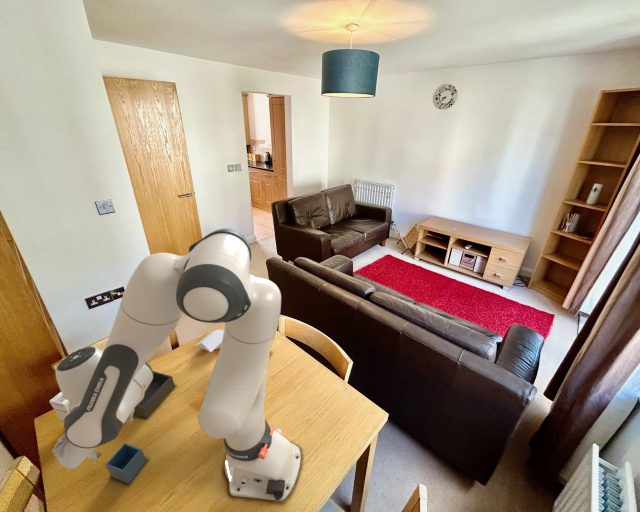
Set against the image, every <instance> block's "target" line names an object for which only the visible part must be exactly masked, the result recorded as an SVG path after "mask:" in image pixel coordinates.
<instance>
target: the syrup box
mask: <svg viewBox="0 0 640 512" xmlns="http://www.w3.org/2000/svg"><path fill="white" fill-rule="evenodd" d="M49 404H50V406H51V407H52V408H53V410H54V412H55V413H56V415H57V416H58V418H59V420H60V421H61V423H62V424H63V425H64V419H65V417H66V416H67V415H68V414H69V413H70V412H71V409H70V402H69V401H68V400H66V399H65V398H64V396H63V394H62V392H61V391H59V392H58V393H57V394H56V395H55V396H54V397H52V398H51V399H50V400H49Z"/></svg>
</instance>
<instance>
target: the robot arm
mask: <svg viewBox="0 0 640 512" xmlns="http://www.w3.org/2000/svg"><path fill="white" fill-rule="evenodd" d="M251 260H252V250H251V246H250V243H249V241H248V240H247V238H246V236H244V235H243V234H242V233H241V232H239V231H237V230H235V229H231V228H220V229H216V230H214V231H212V232H210V233H208V234H207V235H205V236H203V237H202V238H201V239H199V240H198V241H196V242H194V243H193V244H191V245H190V246H189V248H188V253H187V254H185V255H178V254H174V253H170V252H155V253H152V254H149V255H148V256H146V257H144V258H143V259H142V260H141V261H140V263H139V264H138V265H137V266H136V268H135V270H134V272H133V273H132V274H131V277H130V278H129V280H128V282H127V285H126V287H125V290H124V292H123V294H122V297H121V300H120V304H119V307H118V310H117V313H116V316H115V319H114V322H113V324H112V328H111V330H110V333H109V336H108V338H107V341H106V342H105V345H104V348H103V350H101V349H99V348H98V347H97V346H85V347H82V348H79V349H77V350H74V351H73V352H71V353H70V354H68V355H67V356H66V357H64V358H63V359H62V360H61V361H60V362H59V363H58V365H57V366H56V367H55V379H56V382H57V385H58V388H59V390H60V392H62V394H63V396H64V398H65V399H66V400H68V401H69V402H70V409H71V412H70V413H69V414H68V415H67V416H66V417H65V419H64V424H63V430H64V434H62V435H61V436H60V437H59V438H58V439H57V440H56V441H57V442H56V444H55V445H54V447H53V448H52V450H51V451H52V454H53V455H54V457H56V458H57V461H58V463H59V465H60V466H61V467H63V468H64V469H67V470H74V469H77V468H79V466H80V465H81V464H82V463H83V462H85V460H86V459H90V460H92V461H94V462H96V461H97V460H98V459H99V458H100V457H101V456H102V453H101V451H100V450H97V447H100V446H103V445H105V444H108V443H110V442H112V441H114V440H115V439H116V438H117V437H118V435H119V434H120V432H121V430H122V429H123V427H124V424H125V425H127V426H130V425H131V424H132V423H133V421H134V414H133V413H134V410H135V409H134V408H135V407H136V406H137V405H138V404H139V402H140V401H141V400H142V399H143V398H144V395H145V393H144V392H145V391H146V389H147V388H148V386H149V385H150V383H151V381H152V380H153V371H154V370H153V368H152V366H151V365H150V364H149V362H148V361H149V360H150V359H151V357H152V356H153V355H154V354H155V353H156V352H157V351H158V350H159V349H160V348H161V346H162V345H163V344H164V343H165V342H166V340H168V338H169V337H170V336H171V335H172V333H173V332H174V330H175V329H176V328H177V326H178V324H179V323H180V321H181V319H182V318H183V316H184V315H185V316H186V317H188V318H191V319H193V320H194V321H197V322H201V323H205V324H206V323H208V324H220V323H224V328H223V330H224V333H223V339H222V344H221V348H220V349H219V352H218V355H217V356H216V360H215V363H214V365H213V369H212V370H211V374H210V378H209V379H208V380H209V381H208V383H207V387H206V391H205V393H204V396H203V399H202V402H201V404H200V407H199V410H198V412H197V415H196V417H197V422H198V425H199V427H200V429H201V430H202V431H203V432H204V434H206V435H207V436H209V437H211V438H213V439H218V440H219V439H220V440H221V439H222V440H223V447H224V449H225V452H226V455H225V456H226V457H225V459H224V473H225V476H226V478H227V481H228V484H229V494H230V495H231V496H232V497H241V498H249V499H259V500H268V501H277V502H282V501H285V499H287V497H288V496H289V495H290V493H291V492H292V490H293V488H294V487H295V485H296V481H297V478H298V476H299V472H300V467H301V461H302V460H301V459H302V457H301V456H302V455H301V450H300V448H299V447H298V446H297V445H295V444H294V443H292V442H291V441H289V439H287V438H286V437H284V436H283V431H282V429H280V428H279V427H277V428H275V426H274V425H273V426H272V427H271V426H270V425H269V423H268V421H267V419H266V416H265V415H266V414H265V402H266V394H267V385H268V370H269V362H270V355H271V354H270V351H271V352H272V348H273V344H274V342H275V341H274V340H275V337H276V334H277V330H278V326H279V322H280V316H281V310H282V293H281V290H280V288H279V287H278V286H277V284H276V283H274V282H273V281H272V280H270V279H269V278H266V277H261V276H255V275H253V274H252V272H250V269H251ZM287 488H288V489H287Z"/></svg>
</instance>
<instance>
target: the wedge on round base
mask: <svg viewBox="0 0 640 512" xmlns="http://www.w3.org/2000/svg"><path fill="white" fill-rule="evenodd" d="M223 333H224V329H215V330H212V331H210V332H209V333H208V334H207V335H205V336H204V337H203V338H202V339H201V340H199V342H197V343H196V344H195V345H194V346H195V347H197V348H199V349H201V350H205V351H207V352H209V353H212V352H213V351H214V350H220V348H221V344H222V339H223Z"/></svg>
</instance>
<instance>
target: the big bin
mask: <svg viewBox="0 0 640 512" xmlns="http://www.w3.org/2000/svg"><path fill="white" fill-rule="evenodd" d="M152 371H153V380H152V381H151V383H150V385H149V386H148V388H147V389H146V391H145V392H144V393H145V395H144V398H143V399H142V400H141V401H140V402H139V404H138V405H137V406H136V407H135V408H134V409H135V410H134V413H133V416H137V417H140V418H143V419H148V418H149V417H150V416H151V414H153V412H154V411H155V410H156V409H157V408H158V407H159V405H161V403H162V402H163V401H164V400H165V398H167V396H169V394H170V393H171V392H172V391H173V390H174V388H175V387H176V385H175V382H174V379H173V375H169V374H165V373H162V372H159V371H156V370H155V371H154V370H152Z"/></svg>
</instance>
